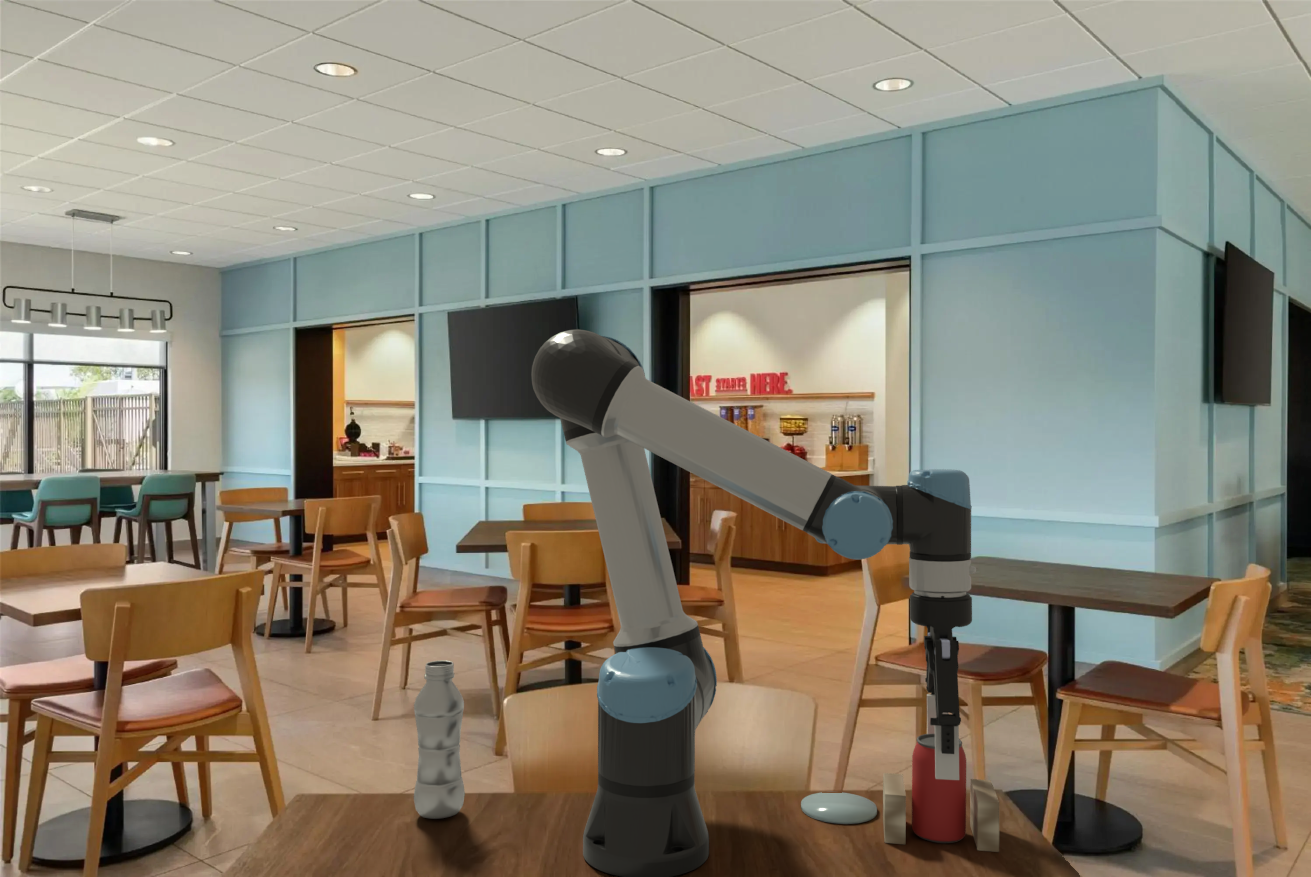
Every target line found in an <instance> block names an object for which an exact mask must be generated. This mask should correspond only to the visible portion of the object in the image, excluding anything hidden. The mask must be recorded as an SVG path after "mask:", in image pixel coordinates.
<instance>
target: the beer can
mask: <svg viewBox="0 0 1311 877" xmlns="http://www.w3.org/2000/svg"><path fill="white" fill-rule="evenodd" d="M911 757H912V758H911V759H912V760H911V762H912V763H911V765H912V766H911V829H912V831H913V833H914V834H915V835H916V836H918V837H919V839H922V840H924V841H929V842H931V843H936V844H952V843H953V844H954V843H957V842H960V841H961V840H962V839H964V838H965V836H966V833H967V758H966V752H965V750H964V748H963V741H962V740H961V739H960V738H959V780H946V779H936V778H935V734H927V733H925V734H924V733H923V734H920V735H918V736H917V738H916V743H915V746H914V748H913V751H912V755H911Z"/></svg>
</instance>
